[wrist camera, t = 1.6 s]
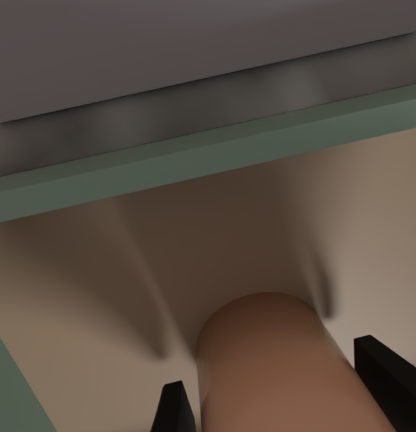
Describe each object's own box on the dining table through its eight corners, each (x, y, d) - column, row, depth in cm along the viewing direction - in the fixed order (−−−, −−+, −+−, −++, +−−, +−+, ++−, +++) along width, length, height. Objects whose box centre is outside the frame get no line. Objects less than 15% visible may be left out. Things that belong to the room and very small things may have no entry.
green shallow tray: (523, 59, 9) (894, 11, 4) (460, 424, 15) (585, 563, 11) (-100, 199, 9) (-422, 310, 4) (98, 515, 15) (63, 700, 10)
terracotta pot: (319, 277, 11) (471, 462, 5) (326, 377, 13) (444, 591, 7) (181, 310, 11) (188, 534, 5) (209, 405, 13) (237, 646, 7)
